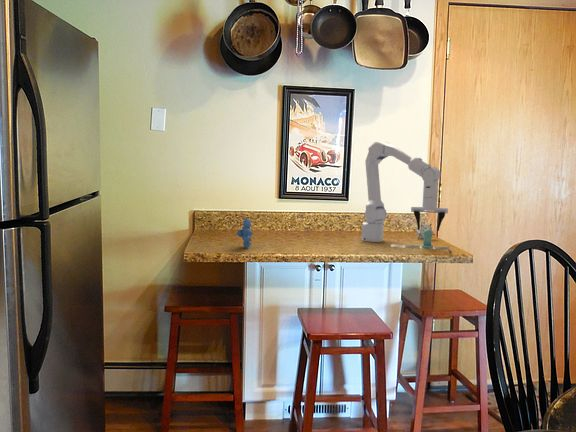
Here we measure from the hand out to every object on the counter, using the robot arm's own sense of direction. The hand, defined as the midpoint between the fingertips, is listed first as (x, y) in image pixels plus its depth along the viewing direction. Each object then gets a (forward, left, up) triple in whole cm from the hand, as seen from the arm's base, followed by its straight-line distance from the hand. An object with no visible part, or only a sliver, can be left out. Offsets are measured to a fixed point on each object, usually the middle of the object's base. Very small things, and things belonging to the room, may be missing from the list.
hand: (428, 230), depth 219 cm
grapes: (-74, -16, -9) cm, 76 cm away
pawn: (0, 0, -7) cm, 7 cm away
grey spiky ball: (0, +23, -9) cm, 25 cm away
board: (-3, 0, -8) cm, 9 cm away
